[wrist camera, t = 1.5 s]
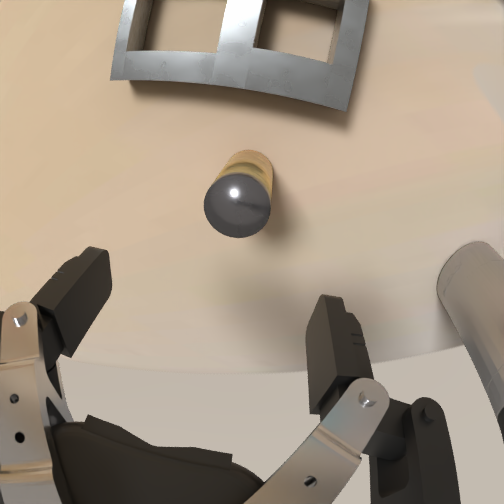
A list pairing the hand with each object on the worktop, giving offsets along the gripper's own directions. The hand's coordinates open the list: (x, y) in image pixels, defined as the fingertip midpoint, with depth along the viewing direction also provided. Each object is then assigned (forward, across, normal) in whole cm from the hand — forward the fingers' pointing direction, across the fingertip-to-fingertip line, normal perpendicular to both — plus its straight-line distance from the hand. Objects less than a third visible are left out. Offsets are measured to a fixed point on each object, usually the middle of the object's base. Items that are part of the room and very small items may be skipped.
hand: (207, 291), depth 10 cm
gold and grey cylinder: (+16, 0, 0) cm, 16 cm away
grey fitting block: (+16, +3, -13) cm, 21 cm away
